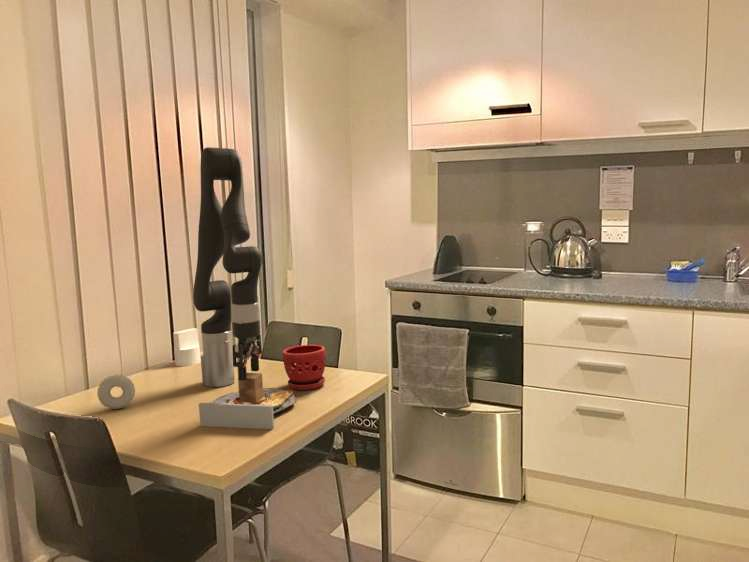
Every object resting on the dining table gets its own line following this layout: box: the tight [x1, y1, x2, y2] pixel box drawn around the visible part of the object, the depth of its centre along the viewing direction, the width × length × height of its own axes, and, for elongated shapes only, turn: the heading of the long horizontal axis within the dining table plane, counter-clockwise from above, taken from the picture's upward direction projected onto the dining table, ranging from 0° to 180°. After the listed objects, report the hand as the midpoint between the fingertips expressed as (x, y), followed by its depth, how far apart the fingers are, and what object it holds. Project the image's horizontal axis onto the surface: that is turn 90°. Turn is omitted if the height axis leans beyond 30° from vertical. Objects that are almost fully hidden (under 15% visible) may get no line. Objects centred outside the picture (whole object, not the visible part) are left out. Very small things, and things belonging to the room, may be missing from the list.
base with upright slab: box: [172, 327, 201, 367], centre depth 220 cm, size 9×9×12 cm
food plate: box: [208, 387, 297, 415], centre depth 169 cm, size 25×23×4 cm
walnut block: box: [237, 372, 264, 403], centre depth 168 cm, size 5×5×7 cm
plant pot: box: [282, 344, 326, 391], centre depth 187 cm, size 13×13×12 cm
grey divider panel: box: [198, 402, 275, 430], centre depth 154 cm, size 20×1×6 cm, turn 78°
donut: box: [97, 374, 136, 410], centre depth 171 cm, size 10×4×10 cm, turn 110°
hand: (249, 375), depth 168 cm, fingers open, 8 cm apart
